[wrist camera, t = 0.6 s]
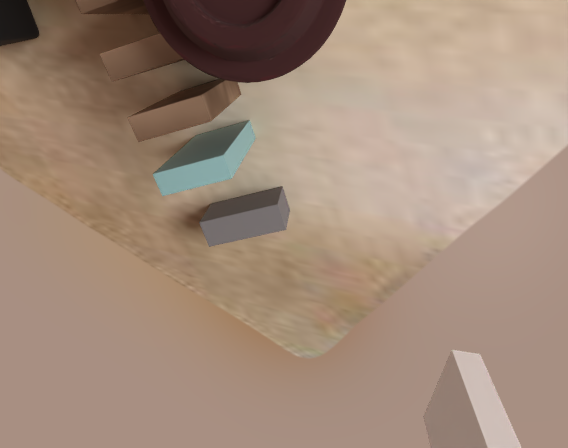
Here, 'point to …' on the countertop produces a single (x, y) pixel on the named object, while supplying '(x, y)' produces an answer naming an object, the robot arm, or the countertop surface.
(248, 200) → the block
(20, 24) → the battery
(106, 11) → the domino
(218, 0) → the coffee cup
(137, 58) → the domino
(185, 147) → the domino
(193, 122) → the domino
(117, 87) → the countertop surface
